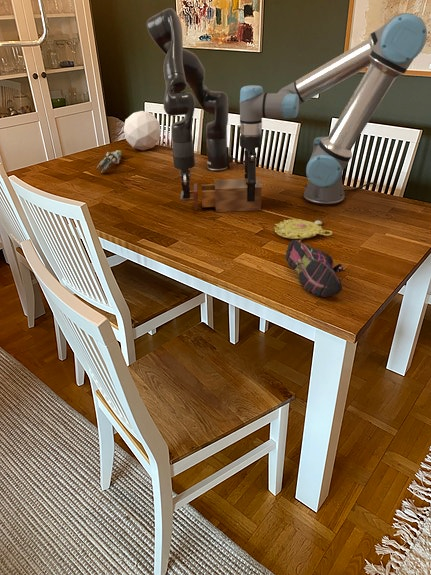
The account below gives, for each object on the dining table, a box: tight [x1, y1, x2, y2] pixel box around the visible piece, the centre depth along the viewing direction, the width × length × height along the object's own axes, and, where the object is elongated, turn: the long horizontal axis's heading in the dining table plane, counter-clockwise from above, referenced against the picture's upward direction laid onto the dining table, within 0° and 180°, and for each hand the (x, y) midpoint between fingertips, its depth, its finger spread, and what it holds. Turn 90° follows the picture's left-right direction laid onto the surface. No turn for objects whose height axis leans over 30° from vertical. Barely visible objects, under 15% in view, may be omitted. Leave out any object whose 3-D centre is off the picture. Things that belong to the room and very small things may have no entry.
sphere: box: [123, 110, 162, 151], centre depth 233 cm, size 19×20×20 cm
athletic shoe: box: [285, 239, 346, 298], centre depth 119 cm, size 11×22×12 cm
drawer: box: [180, 182, 216, 210], centre depth 165 cm, size 20×9×7 cm, turn 92°
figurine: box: [96, 150, 123, 174], centre depth 213 cm, size 7×8×30 cm
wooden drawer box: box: [213, 177, 263, 213], centre depth 165 cm, size 17×10×9 cm, turn 92°
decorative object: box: [273, 218, 333, 242], centre depth 145 cm, size 21×2×20 cm
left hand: (187, 199), depth 165 cm, fingers closed
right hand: (249, 195), depth 165 cm, fingers closed on wooden drawer box, 10 cm apart
